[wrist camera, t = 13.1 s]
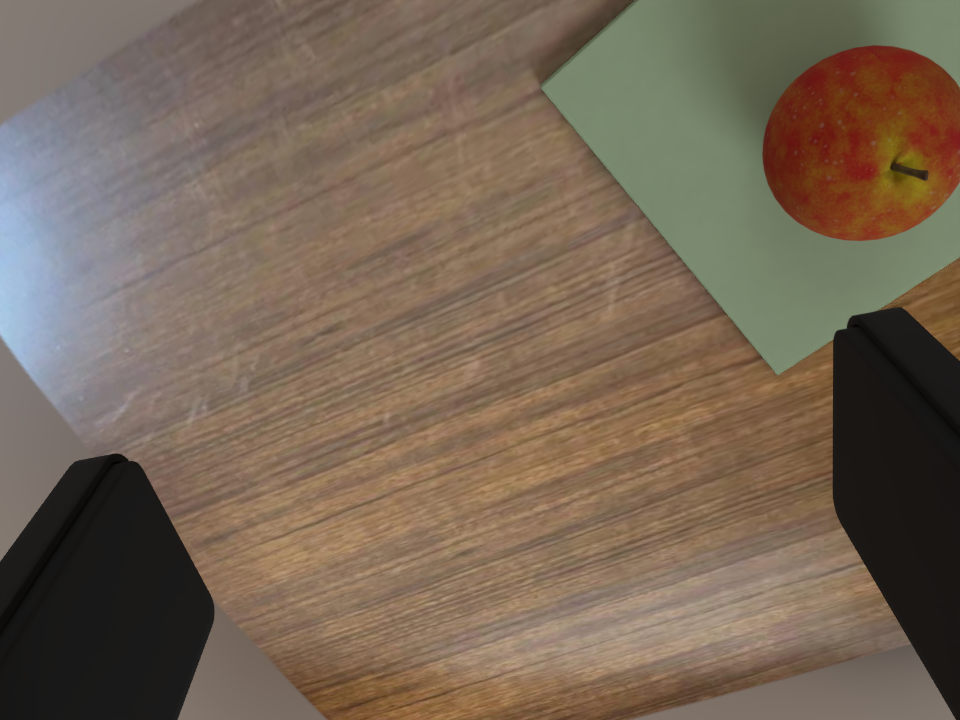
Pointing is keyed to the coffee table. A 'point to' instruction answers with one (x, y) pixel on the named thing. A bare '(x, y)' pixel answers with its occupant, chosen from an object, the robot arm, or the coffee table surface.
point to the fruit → (865, 143)
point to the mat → (749, 152)
